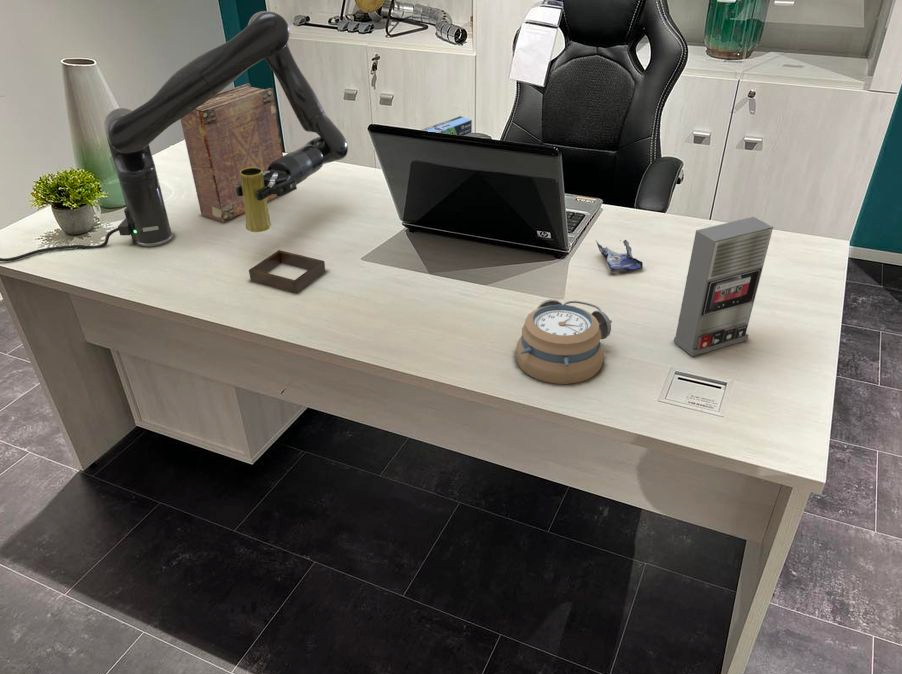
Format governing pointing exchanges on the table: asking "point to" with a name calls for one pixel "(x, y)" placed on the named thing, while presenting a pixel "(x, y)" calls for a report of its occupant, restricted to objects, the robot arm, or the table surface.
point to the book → (230, 146)
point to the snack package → (620, 259)
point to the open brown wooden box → (295, 286)
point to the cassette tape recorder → (722, 284)
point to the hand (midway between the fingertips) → (247, 194)
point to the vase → (254, 200)
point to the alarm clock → (562, 342)
